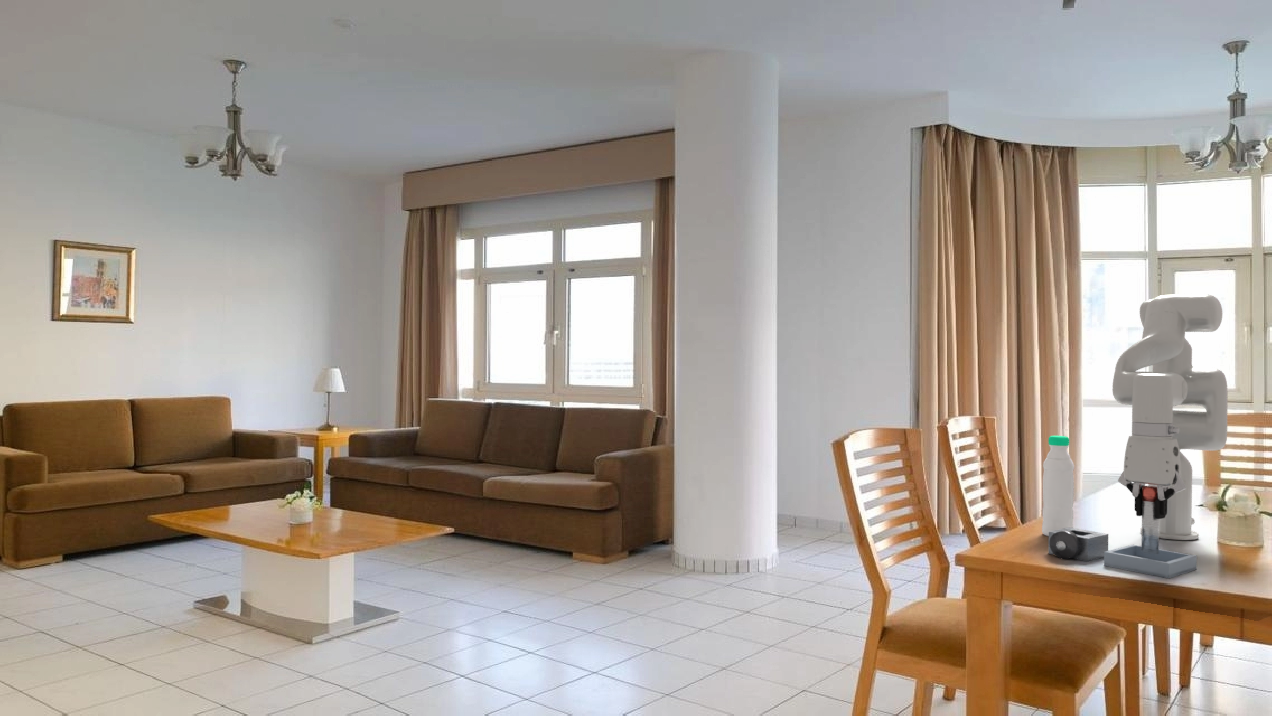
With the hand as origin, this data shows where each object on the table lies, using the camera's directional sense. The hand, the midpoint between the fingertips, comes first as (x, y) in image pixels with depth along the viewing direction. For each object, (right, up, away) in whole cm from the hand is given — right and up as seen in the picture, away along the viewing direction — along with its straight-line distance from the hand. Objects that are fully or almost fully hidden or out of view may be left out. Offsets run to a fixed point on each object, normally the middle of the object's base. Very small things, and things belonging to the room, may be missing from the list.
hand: (1150, 516), depth 191 cm
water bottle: (-4, -11, +33) cm, 35 cm away
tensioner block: (-11, -11, +11) cm, 19 cm away
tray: (0, -11, 0) cm, 11 cm away
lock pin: (0, -8, 0) cm, 8 cm away
